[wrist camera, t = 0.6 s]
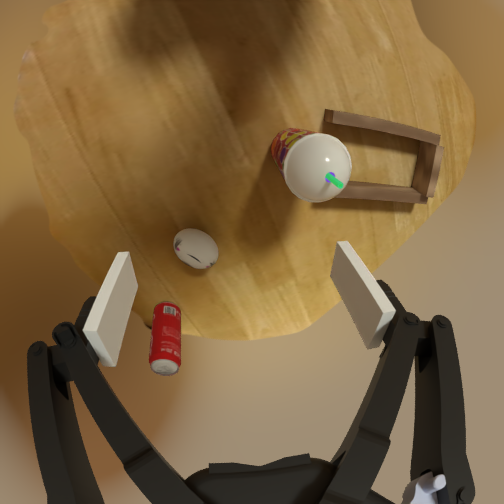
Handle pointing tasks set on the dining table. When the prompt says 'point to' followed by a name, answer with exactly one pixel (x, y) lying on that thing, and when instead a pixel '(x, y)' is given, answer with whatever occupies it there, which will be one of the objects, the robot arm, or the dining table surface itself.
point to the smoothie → (312, 163)
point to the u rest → (425, 164)
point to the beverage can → (165, 339)
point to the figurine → (195, 248)
